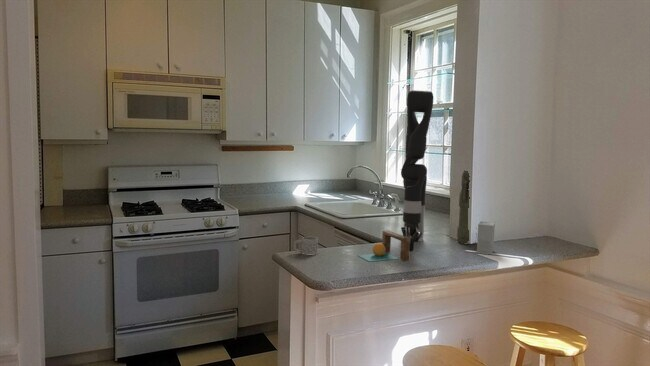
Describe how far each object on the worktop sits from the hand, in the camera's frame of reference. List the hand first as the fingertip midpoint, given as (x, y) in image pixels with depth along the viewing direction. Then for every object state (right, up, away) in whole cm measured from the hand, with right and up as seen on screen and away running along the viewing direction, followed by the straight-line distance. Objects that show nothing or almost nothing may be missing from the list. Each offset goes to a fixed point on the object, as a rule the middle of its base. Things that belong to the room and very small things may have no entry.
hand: (410, 251), depth 215 cm
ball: (-14, +1, -4) cm, 14 cm away
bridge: (-7, -2, -3) cm, 8 cm away
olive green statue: (+32, 0, +28) cm, 42 cm away
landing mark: (-14, -2, -6) cm, 16 cm away
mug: (-45, -1, -3) cm, 45 cm away
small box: (+34, -2, +9) cm, 36 cm away
